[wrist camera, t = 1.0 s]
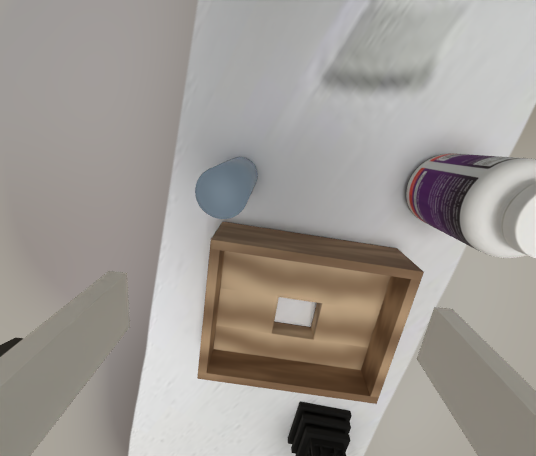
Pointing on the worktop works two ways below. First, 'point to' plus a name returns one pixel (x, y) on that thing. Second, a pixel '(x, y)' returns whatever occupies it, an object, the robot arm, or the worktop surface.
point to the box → (325, 317)
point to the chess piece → (320, 431)
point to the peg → (226, 187)
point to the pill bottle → (479, 201)
